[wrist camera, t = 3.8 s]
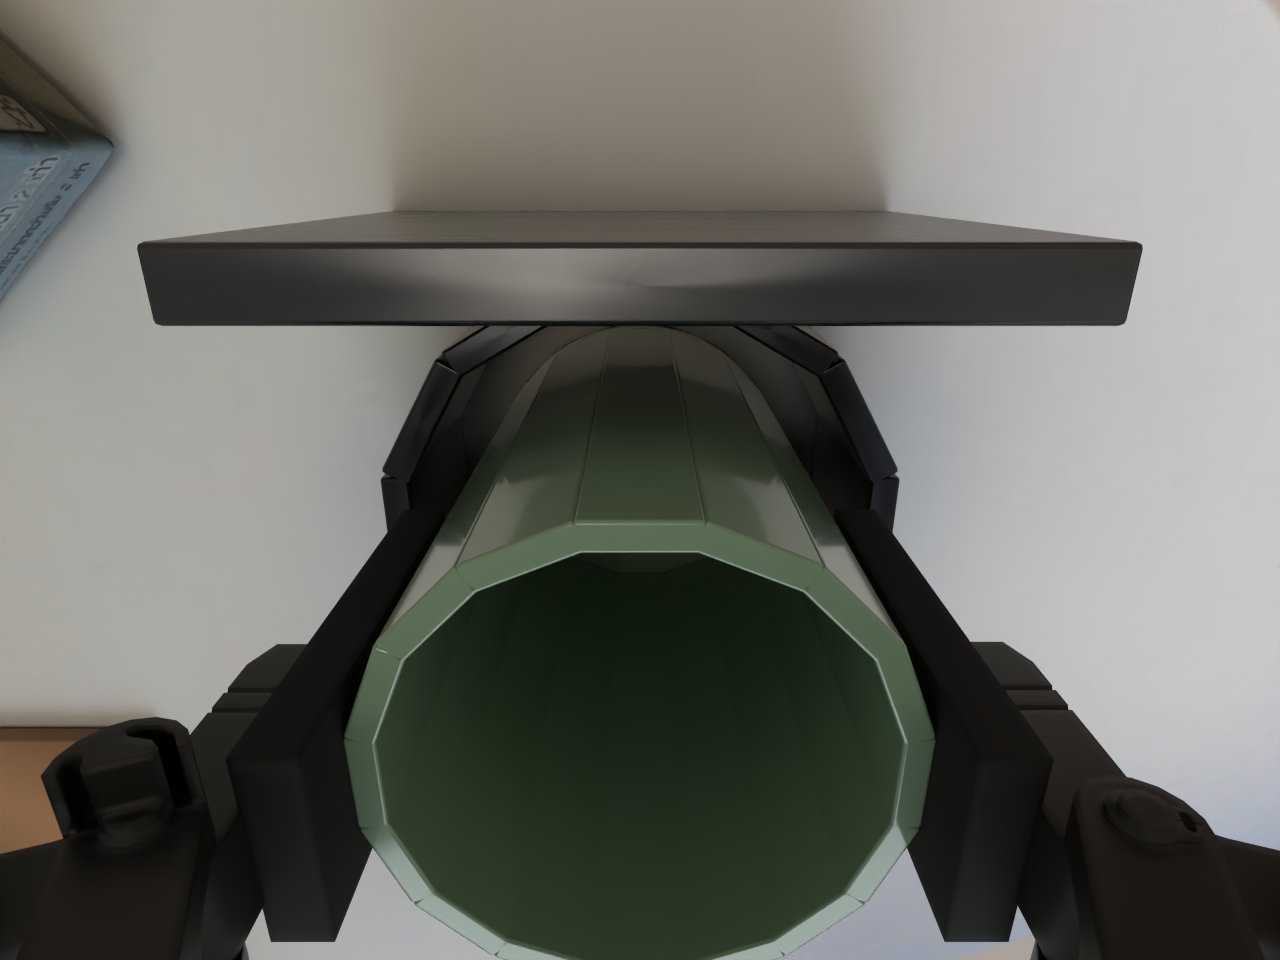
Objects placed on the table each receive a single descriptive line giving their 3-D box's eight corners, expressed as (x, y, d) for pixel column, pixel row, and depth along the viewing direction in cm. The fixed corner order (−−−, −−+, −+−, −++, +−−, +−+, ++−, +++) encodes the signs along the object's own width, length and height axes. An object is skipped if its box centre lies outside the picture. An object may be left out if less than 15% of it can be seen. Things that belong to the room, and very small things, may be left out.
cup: (764, 575, 22) (894, 985, 11) (514, 575, 22) (385, 985, 11) (781, 324, 19) (977, 521, 8) (497, 324, 19) (302, 521, 8)
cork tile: (246, 1025, 29) (238, 1042, 28) (-121, 1025, 29) (-136, 1041, 28) (162, 727, 24) (150, 740, 23) (-284, 727, 24) (-306, 740, 23)
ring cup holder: (842, 626, 23) (984, 938, 13) (437, 626, 23) (295, 939, 13) (889, 211, 18) (1147, 242, 9) (390, 210, 18) (132, 242, 9)
